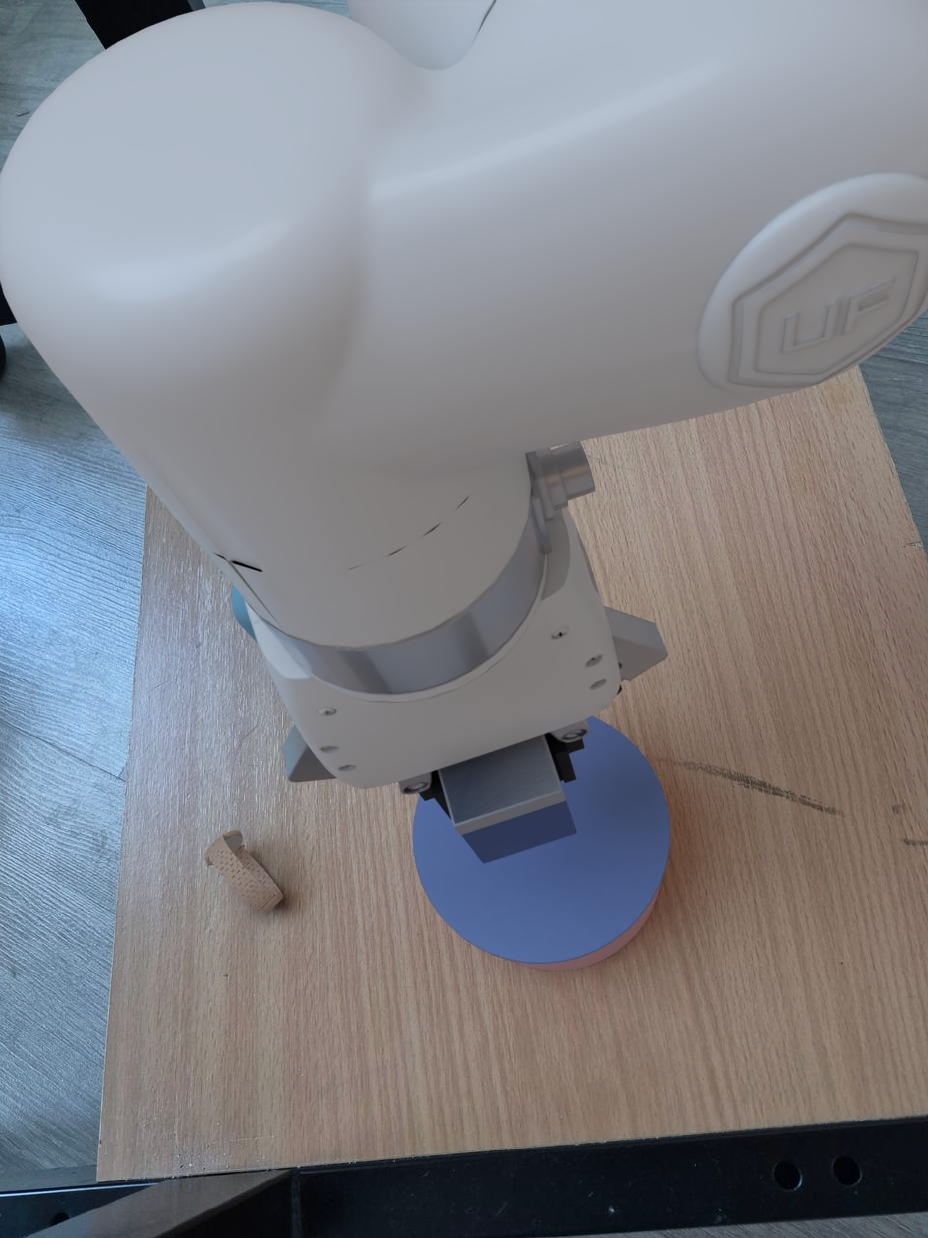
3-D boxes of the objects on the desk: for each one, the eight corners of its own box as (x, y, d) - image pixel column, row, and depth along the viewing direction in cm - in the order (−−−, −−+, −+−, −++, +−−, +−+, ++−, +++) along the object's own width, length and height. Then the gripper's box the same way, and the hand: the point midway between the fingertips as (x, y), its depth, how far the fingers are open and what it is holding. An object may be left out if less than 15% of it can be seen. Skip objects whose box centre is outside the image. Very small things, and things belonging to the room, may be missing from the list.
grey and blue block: (526, 680, 44) (505, 620, 38) (578, 834, 40) (563, 791, 35) (438, 710, 44) (405, 654, 38) (482, 865, 40) (453, 827, 35)
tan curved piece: (255, 840, 61) (221, 819, 56) (302, 897, 59) (271, 880, 54) (221, 872, 60) (185, 853, 56) (268, 931, 58) (234, 916, 54)
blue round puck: (624, 721, 60) (617, 673, 53) (708, 938, 53) (711, 914, 47) (418, 790, 60) (386, 751, 54) (476, 1012, 54) (449, 999, 48)
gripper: (656, 329, 27) (664, 625, 43) (73, 532, 28) (296, 748, 44) (771, 557, 23) (733, 786, 39) (98, 784, 24) (331, 918, 40)
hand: (503, 765), depth 41 cm, fingers closed on grey and blue block, 4 cm apart
